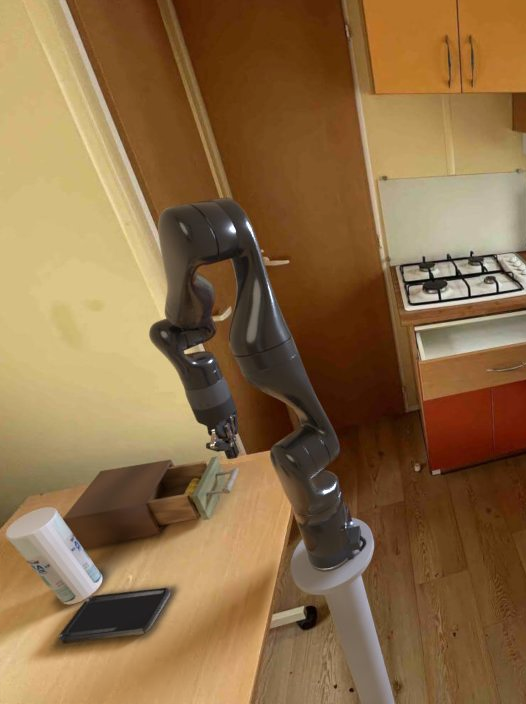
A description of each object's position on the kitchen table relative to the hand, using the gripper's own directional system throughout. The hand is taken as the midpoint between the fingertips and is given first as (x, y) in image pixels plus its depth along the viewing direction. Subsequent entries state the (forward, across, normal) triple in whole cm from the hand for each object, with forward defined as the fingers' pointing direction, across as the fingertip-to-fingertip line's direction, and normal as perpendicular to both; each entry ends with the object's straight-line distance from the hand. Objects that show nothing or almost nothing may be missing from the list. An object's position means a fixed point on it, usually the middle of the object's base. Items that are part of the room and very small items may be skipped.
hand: (233, 456), depth 99 cm
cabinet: (+13, 0, +24) cm, 27 cm away
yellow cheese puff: (+11, 0, +11) cm, 15 cm away
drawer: (+12, 0, +11) cm, 16 cm away
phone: (+13, -25, +16) cm, 32 cm away
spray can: (+13, -17, +26) cm, 34 cm away
